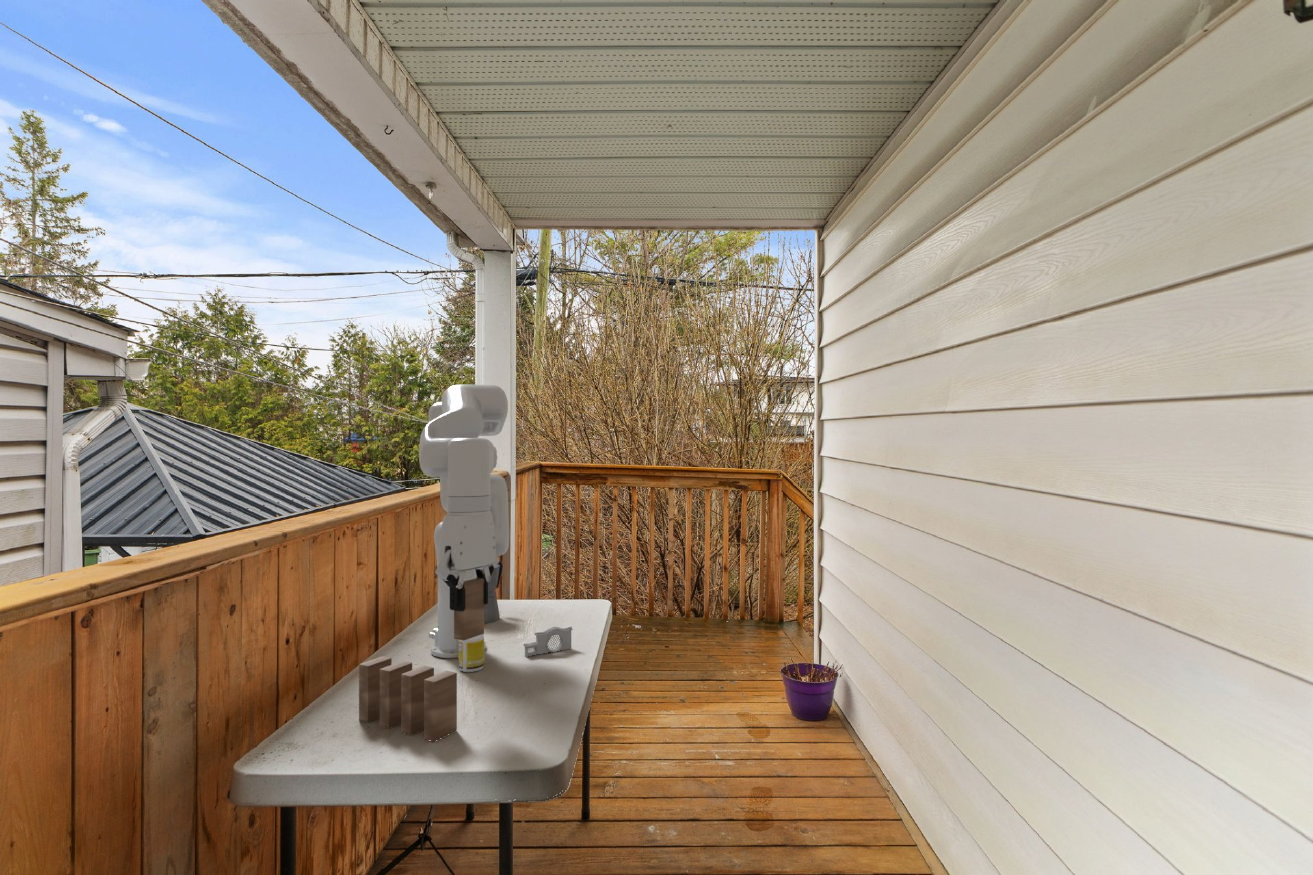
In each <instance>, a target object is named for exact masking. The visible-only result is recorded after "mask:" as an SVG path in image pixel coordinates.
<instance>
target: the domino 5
mask: <svg viewBox="0 0 1313 875" xmlns="http://www.w3.org/2000/svg"><path fill="white" fill-rule="evenodd" d="M462 588H465V610H464V611H455V610H454V639H458V640H467V639H470V638H473V637H476V636H479V635H482V634H483V635H484V634H485V623H484V579H483V578H470V579H466V580H464V582H463V586H462Z"/></svg>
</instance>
